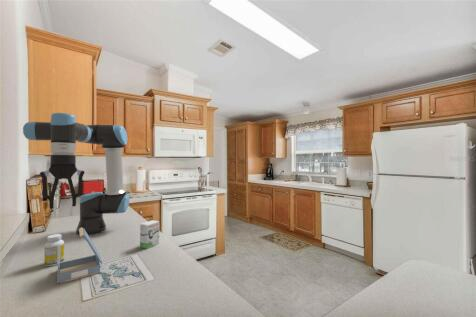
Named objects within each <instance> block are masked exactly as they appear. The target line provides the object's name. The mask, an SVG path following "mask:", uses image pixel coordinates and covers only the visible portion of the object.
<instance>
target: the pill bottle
mask: <svg viewBox="0 0 476 317" xmlns="http://www.w3.org/2000/svg"><path fill="white" fill-rule="evenodd" d="M46 238H47V242H46V243H45V244H44V266H46V267H53V266H58V263H60V262H65V241H64V240H63V239H62V233H61V234H60V233H55V234H51V235H48V236H47V237H46Z"/></svg>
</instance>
